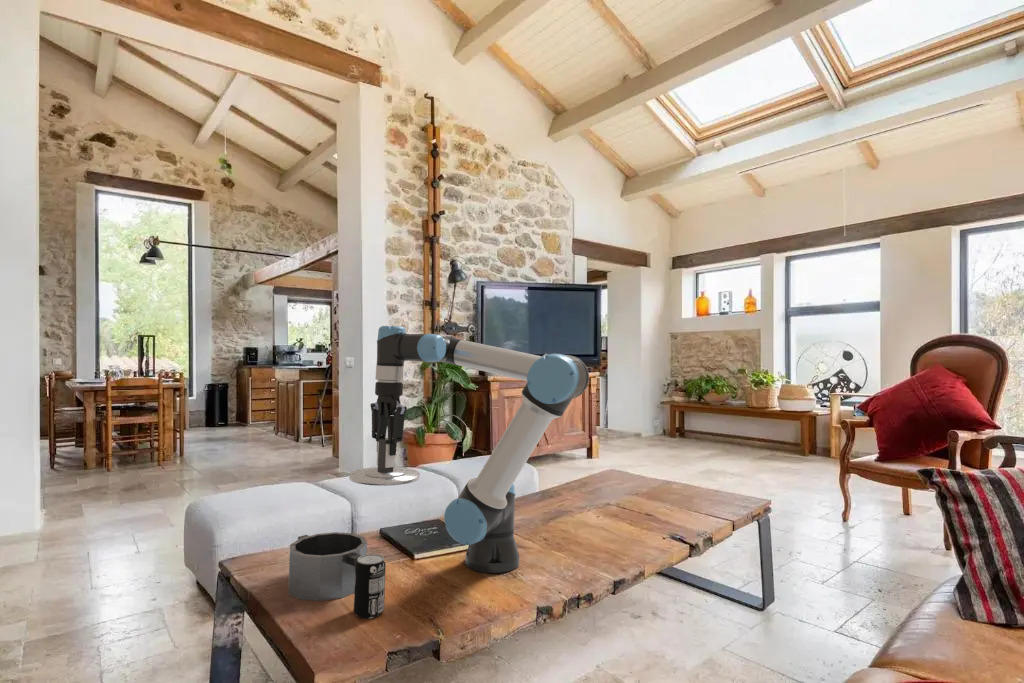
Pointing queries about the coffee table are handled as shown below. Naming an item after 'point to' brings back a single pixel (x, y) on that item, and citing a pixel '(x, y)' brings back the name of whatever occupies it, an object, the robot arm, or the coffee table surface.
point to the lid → (384, 472)
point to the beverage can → (369, 586)
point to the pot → (324, 565)
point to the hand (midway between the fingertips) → (385, 465)
